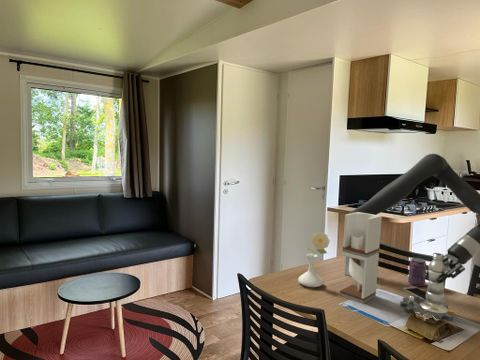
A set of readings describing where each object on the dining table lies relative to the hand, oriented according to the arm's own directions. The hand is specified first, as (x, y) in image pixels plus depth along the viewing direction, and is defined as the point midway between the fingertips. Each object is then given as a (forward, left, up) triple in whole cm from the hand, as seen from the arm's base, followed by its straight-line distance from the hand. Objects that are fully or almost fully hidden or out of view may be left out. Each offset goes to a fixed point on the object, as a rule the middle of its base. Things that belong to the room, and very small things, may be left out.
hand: (432, 278), depth 137 cm
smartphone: (-1, +18, -14) cm, 23 cm away
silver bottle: (+2, +1, -11) cm, 11 cm away
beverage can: (-2, +30, -14) cm, 33 cm away
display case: (-27, +3, -14) cm, 30 cm away
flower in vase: (-47, +6, -14) cm, 49 cm away
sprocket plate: (-1, +1, -13) cm, 13 cm away
